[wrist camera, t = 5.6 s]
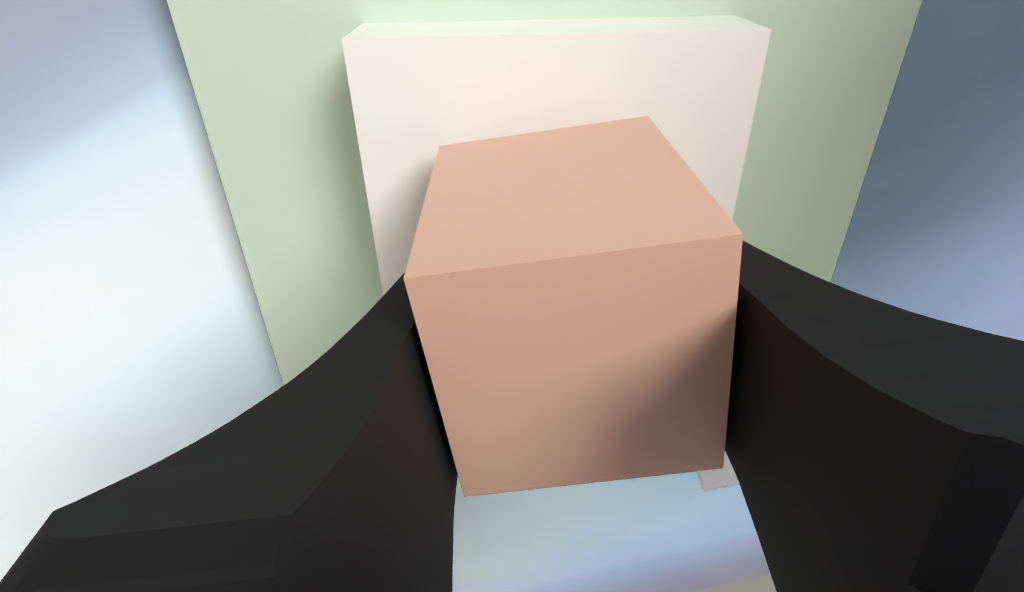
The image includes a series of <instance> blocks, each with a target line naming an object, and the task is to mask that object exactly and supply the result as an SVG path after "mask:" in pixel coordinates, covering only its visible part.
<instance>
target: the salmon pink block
mask: <svg viewBox="0 0 1024 592" xmlns="http://www.w3.org/2000/svg"><path fill="white" fill-rule="evenodd" d="M742 241H743V233H742V232H741V231H740V230H739V228H738V227H737V226H736V225H735V223H734V222H733V221H732V220H731V218H730V217H729V216H728V215H727V213H726V212H725V211H724V210H723V208H722V207H721V206H720V205H719V203H718V202H717V201H716V200H715V198H714V197H713V196H712V195H711V194H710V192H709V191H708V190H707V189H706V187H705V186H704V185H703V184H702V182H701V181H700V180H699V179H698V177H697V176H696V175H695V174H694V172H693V171H692V170H691V169H690V167H689V166H688V165H687V164H686V162H685V161H684V160H683V159H682V157H681V156H680V155H679V154H678V153H677V151H676V150H675V149H674V148H673V146H672V145H671V144H670V143H669V141H668V140H667V139H666V138H665V136H664V135H663V134H662V133H661V131H660V130H659V129H658V128H657V126H656V125H655V124H654V123H653V121H652V120H651V119H650V118H649V116H643V117H636V118H629V119H622V120H615V121H608V122H601V123H594V124H587V125H580V126H573V127H566V128H559V129H553V130H546V131H539V132H532V133H525V134H518V135H511V136H504V137H497V138H490V139H483V140H476V141H469V142H462V143H455V144H448V145H441V146H439V148H438V152H437V155H436V159H435V163H434V166H433V170H432V174H431V178H430V181H429V185H428V189H427V193H426V196H425V200H424V204H423V208H422V211H421V215H420V219H419V222H418V226H417V230H416V234H415V237H414V241H413V245H412V249H411V252H410V256H409V260H408V264H407V267H406V271H405V275H404V282H405V286H406V290H407V293H408V297H409V300H410V304H411V308H412V311H413V315H414V318H415V322H416V325H417V329H418V333H419V336H420V340H421V343H422V347H423V351H424V354H425V358H426V361H427V365H428V369H429V372H430V376H431V379H432V383H433V387H434V390H435V394H436V397H437V401H438V404H439V408H440V412H441V415H442V419H443V422H444V426H445V430H446V433H447V437H448V440H449V444H450V448H451V451H452V455H453V458H454V462H455V465H456V469H457V473H458V476H459V480H460V483H461V487H462V491H463V494H464V497H466V496H475V495H484V494H493V493H503V492H512V491H521V490H530V489H539V488H548V487H557V486H567V485H576V484H585V483H594V482H603V481H612V480H621V479H630V478H640V477H649V476H658V475H667V474H676V473H685V472H694V471H703V470H713V469H722V468H723V465H724V453H725V441H726V429H727V418H728V406H729V394H730V382H731V370H732V359H733V347H734V335H735V323H736V312H737V300H738V288H739V276H740V264H741V253H742Z"/></svg>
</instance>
